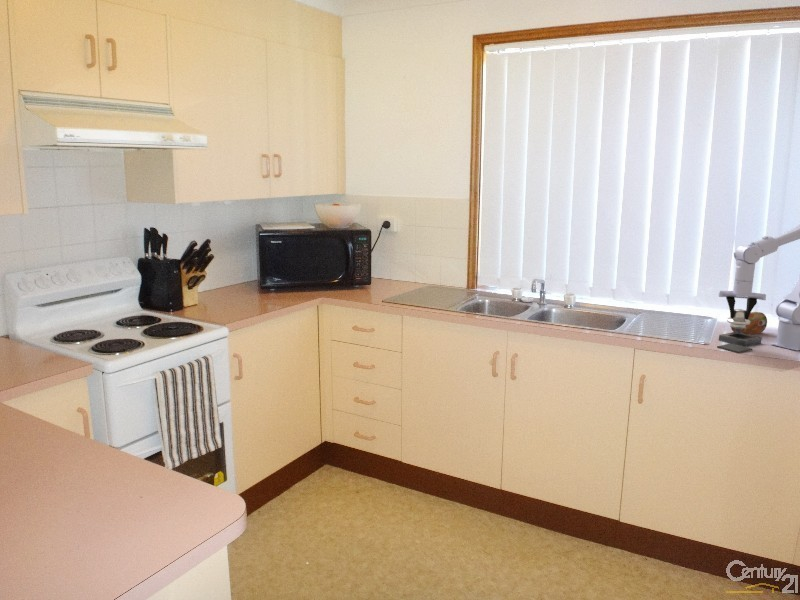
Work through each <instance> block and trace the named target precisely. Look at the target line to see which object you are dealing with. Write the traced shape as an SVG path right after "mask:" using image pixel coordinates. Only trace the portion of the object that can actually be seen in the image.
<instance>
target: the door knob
mask: <svg viewBox="0 0 800 600" xmlns="http://www.w3.org/2000/svg"><path fill="white" fill-rule="evenodd" d="M745 318H746V309H740V308H734V317H733V318H731V317H727V319H726V321H727V323H729V324H730V326H729V327H730V328H731V327H732V328H736V329H745V328H746V325H749V324H750V320H746V319H745Z"/></svg>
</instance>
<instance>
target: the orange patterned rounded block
mask: <svg viewBox="0 0 800 600" xmlns="http://www.w3.org/2000/svg"><path fill="white" fill-rule="evenodd" d="M767 318H768V317H767V315H766V314H764V312H759V311H751V313H750V315H749V318H748V320H750V324H749V325H746V328H745V329H736V328H732V327H730V329H731V331H732V332H739V333H743V334H747V335H758V334H761V333H763V332H764V331H765V330H766V328H767V325H768V319H767Z"/></svg>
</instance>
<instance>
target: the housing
mask: <svg viewBox="0 0 800 600" xmlns="http://www.w3.org/2000/svg"><path fill="white" fill-rule="evenodd" d="M762 339H763V338H762V337H760V336H756V335H753V334H749V335H747V334H743V333H739V332H733V331H732V332H728V333H727V332H726V333H723V334H719V335H718V341H720V342H721V341H722V342H724V343H727V344H730V343H732V344H736V345H740V346H744V347H749V346H755V345H758V344H762Z"/></svg>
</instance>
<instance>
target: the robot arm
mask: <svg viewBox="0 0 800 600" xmlns="http://www.w3.org/2000/svg"><path fill="white" fill-rule="evenodd" d="M798 240H800V224H798V225H796V226H795V227H793V228H791V229H790V230H787V231H786V232H784V233H781V234H779V235H777V236H774V237H773V236H769V235H768V236H767V235H763V236H762V237H761V239H758V240H755V241H751V242H749V244H747V245H745V244H743V245H740V246H738V247H737V248H736V250H735V252H733V258H734V259H735V264H736V267H735V274H734V283H733V290H718V296H717V297H719V298H726V301H727V304H728V307H729V308H728V309H729V313H730V316H729V318H733V317H734V309H735V304H736V299H745V300H746V308H745V310H746V318H745V319H746V320H748V318H749V315H750V313H751V312H753V309H754V308H755V307H756V305H757V304H758V300H760V301H766V299H767V294H766V293H760V292H759V293H757V292H753V285H754V284H753V283H754V277H755V269H756V263H757V262H759V260H760V259H762V258H763V257H765V256H768V255H770V254H773V253H775V252H777V251H778V249H779V247H781V246H784V245H786V244H789V243H792V242H796V241H798ZM775 314H776V315H777V317H778V328H777V334H776V341H774V342H771V343H770V345H772V346H776V347H779V348H784V349H789V350H793V351H795V352H796V351H800V275H799V276H798V278H797V279H796V282H795V284H794V286H793V288H792V290H791V292H790V293H788V294H786V295H784V296H783V298H782V300H781V301H780V302H779V303H778V304H777V305H776V308H775Z"/></svg>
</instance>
